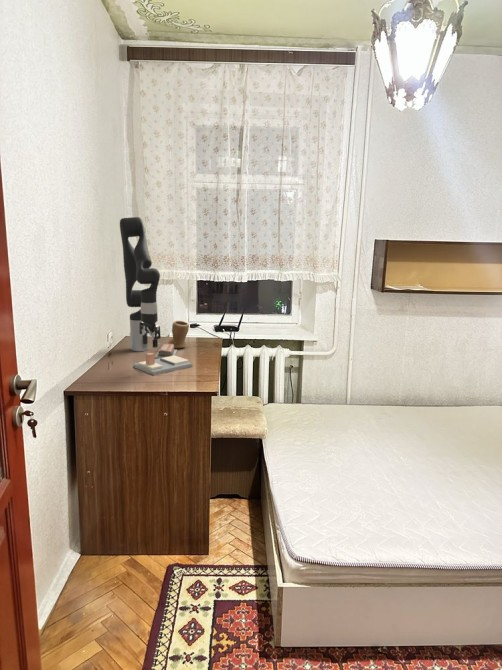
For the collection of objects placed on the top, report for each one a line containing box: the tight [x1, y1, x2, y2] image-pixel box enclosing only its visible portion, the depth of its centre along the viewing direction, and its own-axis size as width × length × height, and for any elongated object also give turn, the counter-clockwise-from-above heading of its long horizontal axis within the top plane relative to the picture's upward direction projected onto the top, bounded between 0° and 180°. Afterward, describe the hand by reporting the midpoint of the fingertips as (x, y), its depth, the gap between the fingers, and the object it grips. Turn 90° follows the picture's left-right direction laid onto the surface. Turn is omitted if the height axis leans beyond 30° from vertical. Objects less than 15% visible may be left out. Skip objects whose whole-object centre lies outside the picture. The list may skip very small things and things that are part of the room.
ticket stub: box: [137, 352, 163, 370], centre depth 210 cm, size 12×6×6 cm, turn 45°
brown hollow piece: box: [167, 320, 190, 349], centre depth 255 cm, size 15×12×15 cm
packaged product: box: [155, 343, 178, 359], centre depth 237 cm, size 18×5×10 cm
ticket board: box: [132, 354, 193, 376], centre depth 215 cm, size 18×22×2 cm
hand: (150, 345), depth 208 cm, fingers open, 8 cm apart
